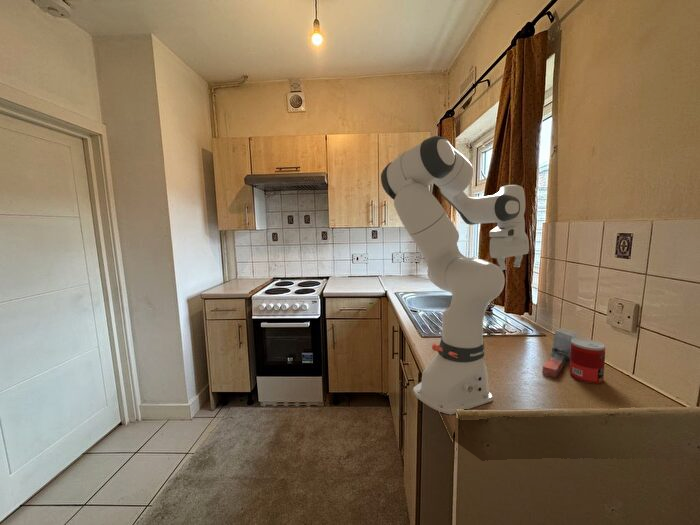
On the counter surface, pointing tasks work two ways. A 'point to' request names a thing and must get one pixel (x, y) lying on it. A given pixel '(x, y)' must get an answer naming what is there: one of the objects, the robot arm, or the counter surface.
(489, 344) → the counter surface
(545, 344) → the counter surface
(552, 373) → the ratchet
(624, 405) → the counter surface
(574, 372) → the canned food
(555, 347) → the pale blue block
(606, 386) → the counter surface
